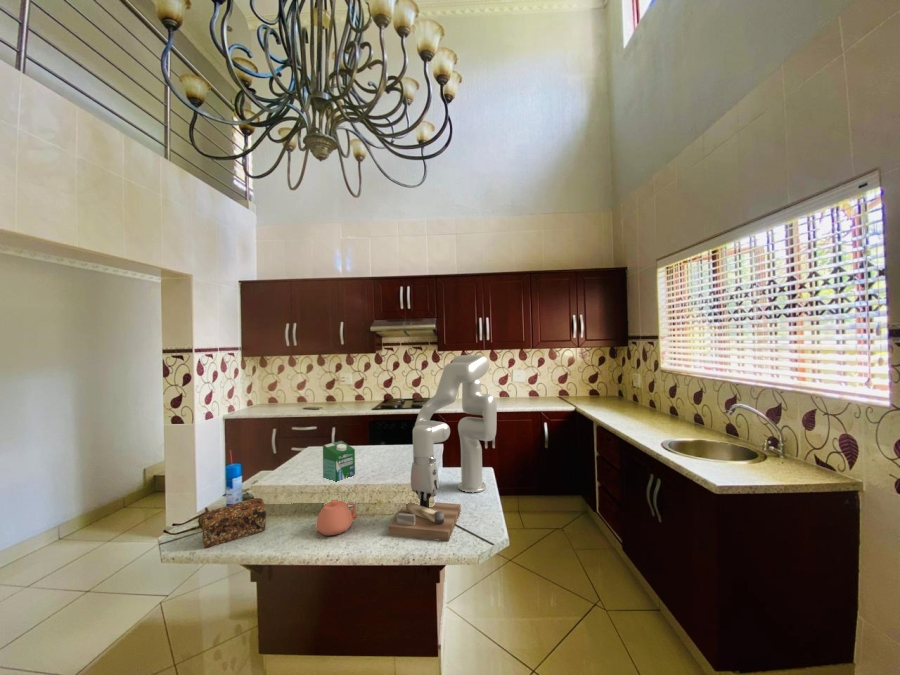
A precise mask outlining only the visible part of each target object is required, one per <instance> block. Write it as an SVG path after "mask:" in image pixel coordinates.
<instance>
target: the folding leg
mask: <svg viewBox="0 0 900 675" xmlns="http://www.w3.org/2000/svg"><path fill="white" fill-rule="evenodd" d="M405 505H406V511H407V512H409V513H412V514H415V515H417V516H420V517H422V518H425V519H428V520H430V521H433V522H435V523H436V524H442V523H444V513H443V512H441V511H438V512H437V511H435V510H432V509H429V508H426V507H423V506H420V505H418V504H415V503H412V502H410V503H408V504H406V503H405Z"/></svg>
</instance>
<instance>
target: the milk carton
mask: <svg viewBox="0 0 900 675" xmlns="http://www.w3.org/2000/svg"><path fill="white" fill-rule="evenodd" d="M355 453H356V452H355V448H354V447H352V446H351V445H349V444H348V443H346V442H344V441H343V440H338V441H334V442H331V443H330V442H329V443H327V444H324V445H323V444H322V479H323V478H326V479H329V480H333V481H335V482H337V481H340V480H343V479H346V478H348V477H352V476H354V475H355V476H356V454H355Z"/></svg>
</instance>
